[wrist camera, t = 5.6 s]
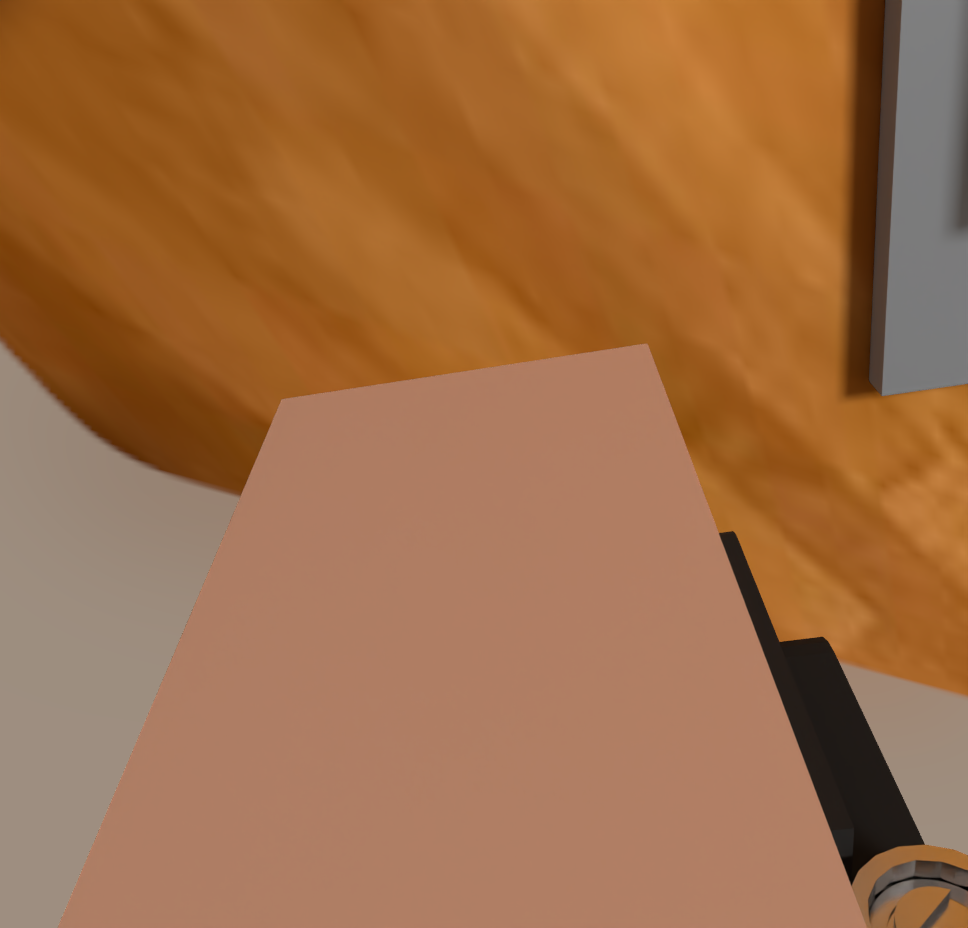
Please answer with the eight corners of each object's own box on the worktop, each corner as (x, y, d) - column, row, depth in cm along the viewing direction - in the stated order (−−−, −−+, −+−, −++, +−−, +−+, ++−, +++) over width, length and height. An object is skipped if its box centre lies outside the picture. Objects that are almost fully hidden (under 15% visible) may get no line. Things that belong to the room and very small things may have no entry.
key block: (281, 400, 10) (-21, 1108, 4) (647, 344, 10) (905, 1030, 4) (412, 818, 14) (354, 1531, 8) (685, 787, 13) (849, 1509, 7)
